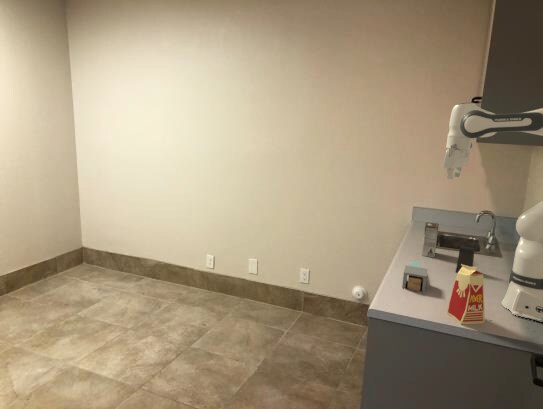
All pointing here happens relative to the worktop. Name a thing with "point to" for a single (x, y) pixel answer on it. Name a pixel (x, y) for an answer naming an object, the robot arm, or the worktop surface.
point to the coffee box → (430, 239)
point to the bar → (416, 264)
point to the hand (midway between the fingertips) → (453, 178)
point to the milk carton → (467, 297)
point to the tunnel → (415, 272)
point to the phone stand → (465, 257)
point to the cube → (414, 282)
